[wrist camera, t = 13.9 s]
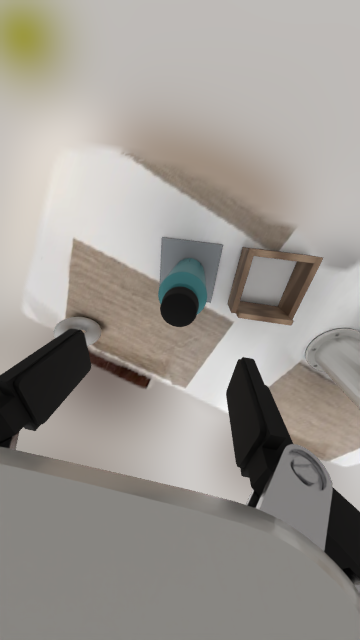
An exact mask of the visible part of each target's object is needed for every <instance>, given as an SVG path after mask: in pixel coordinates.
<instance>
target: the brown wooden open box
mask: <svg viewBox="0 0 360 640" xmlns="http://www.w3.org/2000/svg"><path fill="white" fill-rule="evenodd" d="M253 256H259V257H267V258H275V259H283V260H291V261H297V263H296V266H295V268H294V270H293V273H292V275H291V277H290V279H289V282H288V284H287V286H286V289H285V291H284V293H283V296H282V298H281V300H280V302H279V305H278V306H271V305H264V304H257V303H250V302H243V301H240V299H241V296H242V292H243V289H244V286H245V283H246V279H247V276H248V273H249V269H250V266H251V263H252V260H253ZM322 260H323V258H322V257H316V256H310V255H303V254H295V253H287V252H279V251H270V250H262V249H254V248H246V247H243V248H242V252H241V256H240V259H239V263H238V267H237V271H236V274H235V278H234V282H233V285H232V289H231V293H230V297H229V300H228V306H229V308H230V311H231V313H236V314H237V316H238V318H244V319H251V320H257V321H264V322H271V323H278V324H284V325H292V323H293V320H292V319H293V317H294V315H295V313H296V311H297V309H298V307H299V305H300V303H301V301H302V299H303V297H304V295H305V293H306V291H307V289H308V287H309V286H310V284H311V282H312V280H313V278H314V276H315V274H316V272H317V270H318V268H319V266H320V264H321V262H322Z"/></svg>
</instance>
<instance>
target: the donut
mask: <svg viewBox="0 0 360 640" xmlns="http://www.w3.org/2000/svg"><path fill="white" fill-rule="evenodd" d="M71 328H72V329H79V330H85V331H86V332H85V333H84V334H85V338H86V343H87V346H89V345H92V344H93V343H95V342H96V341H97V340H98V339H99V337H100V336H101V328H100V326H99V325H98V324H97V323H96V322H95V321H93V320H91V319H89V318H85V317H71V318H67V319H65V320H63V321H61V322H59V323H58V324H57V325H56V327H55V329H54V336H55V338H56V337H58V336H59V335H61V334H62V333H64V332H65V331H67V330H68V329H71Z"/></svg>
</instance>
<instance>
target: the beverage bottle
mask: <svg viewBox="0 0 360 640" xmlns="http://www.w3.org/2000/svg"><path fill="white" fill-rule="evenodd" d="M175 265H176V264H175ZM203 268H204V267H203V266H202V265H201V263H200V262H198V261H197V260H195V259H192V258H186V259H185V258H183V260H180V262H178V263H177V265H176V266H175V267H174V268H173V269H172V271H170V273H169V274H168V276H167V277H166V278H165V279H164V280H163V282H162V283H161V285H160V287H159V293H158V296H159V301H160V304H161V307H160V311H161V315H162V317H163V319H164V320H165V321H166V322H167V323H169V324H170V325H172V326H176V327H184V326H187V325H189V324H190V323H192V322H193V321H194V319H195V318H196V315H197V314H199V313H200V312H201V311H202V310H203V308H204V307H205V304H206V301H207V290H206V281H205V280H206V278H205V273H204V269H203Z"/></svg>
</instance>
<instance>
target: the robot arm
mask: <svg viewBox="0 0 360 640" xmlns="http://www.w3.org/2000/svg"><path fill="white" fill-rule="evenodd" d="M305 356H306V360H307V362H308V363H309V364H310V366H311V367H312V368H314V369H316V370H318V371H322V372H326V373H327V374H328V375H329V377H330V378H331V379H332V380H333V381H334V382H335V383H336V384H337V385H338V386H339V387H340V389H341V390H342V391H343V392H344V393H345V394H346V395H347V396H348V397H349V398H350V399H351V401H352V402H353V403H354V404H355V405H356V406H357V407H358V408H359V409H360V332H359V331H357V330H354V329H336V330H332V331H329V332H326V333H324V334H322V335H320V336H318V337H317V338H316V339H315V340H313V341H312V342H311V343H310V345H309V346H308V348H307V350H306V355H305ZM90 369H91V362H90V357H89V353H88V348H87V343H86V338H85V334H84V333H83V332H82V331H81V330H78V329H72V328H71V329H68V330H67V331H65V332H64V333H62V334H61V335H59V336H58V337H56V338H55V339H54V340H52V341H51V342H49V343H48V344H46V345H45V346H43V347H42V348H40V349H39V350H37V351H36V352H34V353H33V354H31V355H30V356H28V357H27V358H25V359H24V360H22V361H21V362H19V363H18V364H16V365H15V366H13V367H12V368H10V369H9V370H8V371H6V372H5V373H3V374H2V375H0V640H360V512H359V511H358V510H357V509H356V508H355V507H354V506H353V505H352V504H350V503H349V502H348V501H347V500H346V499H345V498H344V497H343V496H342V495H341V494H340V493H338V492H337V491H336V490H335V489H334V488H333V487H332V481H331V478H330V476H329V473H328V472H327V470H326V468H325V467H324V465H323V464H322V463H321V462H320V460H319V459H318V458H317V457H316V456H315V455H314V454H313V453H311V452H310V451H309V450H307V449H306V448H304V447H302V446H299V445H295V444H293V442H292V440H291V438H290V435H289V433H288V431H287V428H286V426H285V424H284V422H283V419H282V417H281V415H280V412H279V410H278V408H277V406H276V403H275V401H274V399H273V396H272V394H271V392H270V390H269V388H268V387H267V386H266V385H264V382H263V380H262V378H261V375H260V373H259V370H258V368H257V366H256V363H255V361H254V359H250V358H244V357H242V359H239V360H238V361H237V364H236V367H235V370H234V372H233V375H232V378H231V380H230V383H229V386H228V389H227V393H226V396H227V404H228V410H229V417H230V424H231V431H232V437H233V445H234V452H235V458H236V464H237V466H238V467H240V468H241V475H242V476H244V477H249V478H250V482H251V487H252V488H253V490H252V492H251V494H250V497H249V499H248V501H247V503H246V505H244V504H241V503H238V502H234V501H231V500H227V499H223V498H219V497H215V496H211V495H207V494H203V493H199V492H196V491H192V490H188V489H183V488H179V487H174V486H170V485H166V484H161V483H158V482H153V481H149V480H145V479H141V478H136V477H132V476H127V475H123V474H119V473H115V472H110V471H106V470H101V469H97V468H92V467H88V466H84V465H79V464H75V463H71V462H66V461H62V460H58V459H53V458H49V457H44V456H40V455H35V454H31V453H26V452H22V451H17V450H16V444H17V440H18V434H19V431H20V430H21V429H22V428H23V427H24V428H25V429H28V430H33V431H36V429H37V428H38V427H39V426H40V425H41V424H43V423H45V422H46V421H47V420H48V418H49V417H50V416H51V415H52V414H53V413H54V411H55V410H56V409H57V408H58V407H59V406H60V405H61V403H62V402H63V401H64V400H65V399H66V398H67V396H68V395H69V394H70V393H71V392H72V391H73V389H74V388H75V387H76V386H77V385H78V384H79V382H80V381H81V380H82V379H83V378H84V377H85V375H86V374H87V373H88V372H89V371H90Z"/></svg>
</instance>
